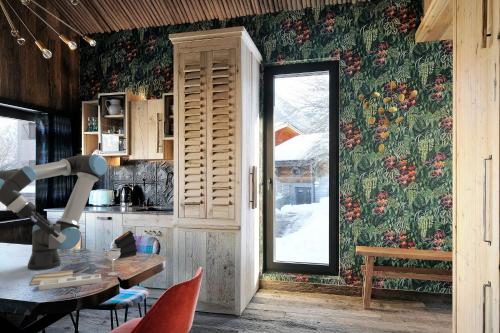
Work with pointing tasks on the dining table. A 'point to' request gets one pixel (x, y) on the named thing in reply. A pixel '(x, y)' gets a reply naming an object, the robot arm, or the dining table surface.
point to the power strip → (69, 281)
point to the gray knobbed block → (52, 241)
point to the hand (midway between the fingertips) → (63, 239)
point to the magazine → (126, 244)
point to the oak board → (51, 276)
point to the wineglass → (113, 257)
